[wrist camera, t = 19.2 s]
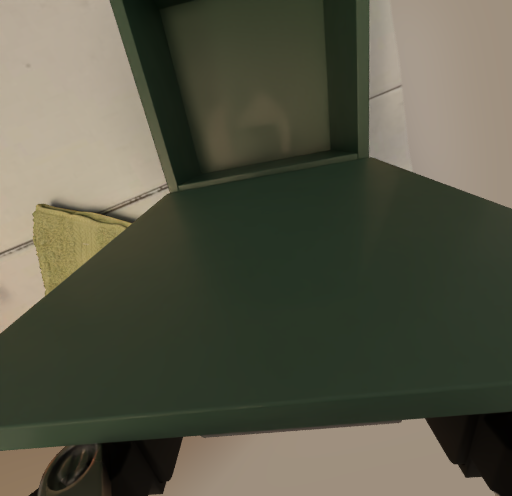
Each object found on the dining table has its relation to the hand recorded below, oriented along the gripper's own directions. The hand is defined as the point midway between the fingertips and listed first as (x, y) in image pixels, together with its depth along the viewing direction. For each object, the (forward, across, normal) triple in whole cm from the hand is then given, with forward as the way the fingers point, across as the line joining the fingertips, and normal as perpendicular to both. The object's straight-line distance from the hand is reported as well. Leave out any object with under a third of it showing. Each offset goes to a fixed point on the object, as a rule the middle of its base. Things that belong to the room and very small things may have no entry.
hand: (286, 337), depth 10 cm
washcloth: (+21, +24, +5) cm, 32 cm away
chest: (+21, 0, -12) cm, 24 cm away
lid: (+3, 0, -4) cm, 5 cm away
